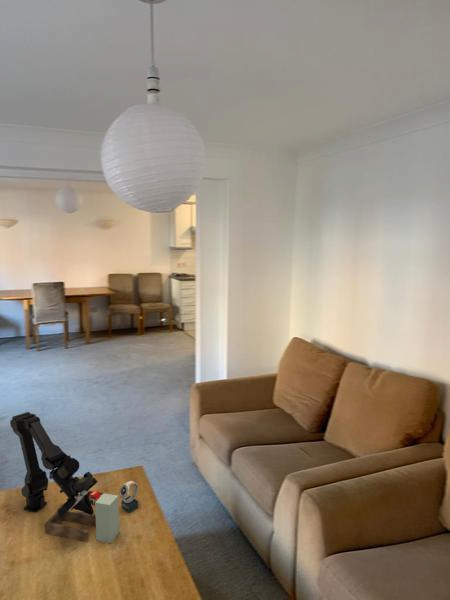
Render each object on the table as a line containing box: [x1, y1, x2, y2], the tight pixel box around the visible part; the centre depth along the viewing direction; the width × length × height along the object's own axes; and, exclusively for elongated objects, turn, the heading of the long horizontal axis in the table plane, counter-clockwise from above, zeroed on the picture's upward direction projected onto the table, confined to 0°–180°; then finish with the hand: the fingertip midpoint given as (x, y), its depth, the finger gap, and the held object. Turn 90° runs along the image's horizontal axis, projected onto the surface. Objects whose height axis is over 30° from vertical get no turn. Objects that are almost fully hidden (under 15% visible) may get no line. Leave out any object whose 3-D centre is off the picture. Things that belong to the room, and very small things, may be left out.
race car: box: [89, 490, 104, 506], centre depth 181 cm, size 13×5×4 cm, turn 77°
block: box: [94, 492, 120, 544], centre depth 158 cm, size 6×6×15 cm
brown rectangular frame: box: [44, 508, 96, 543], centre depth 163 cm, size 18×10×4 cm, turn 74°
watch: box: [118, 480, 139, 513], centre depth 176 cm, size 6×8×11 cm
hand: (92, 513), depth 160 cm, fingers closed
